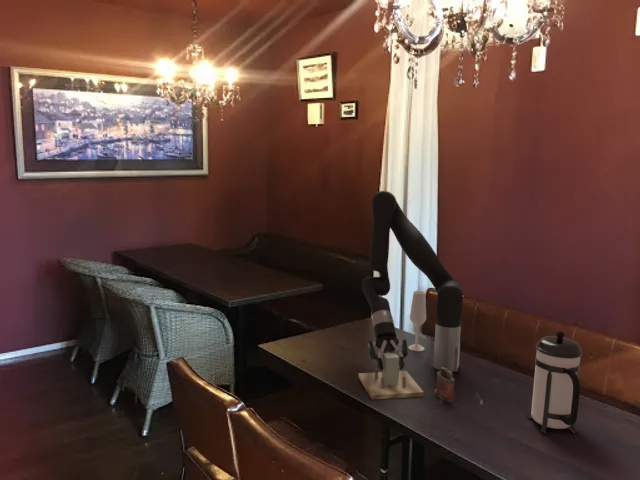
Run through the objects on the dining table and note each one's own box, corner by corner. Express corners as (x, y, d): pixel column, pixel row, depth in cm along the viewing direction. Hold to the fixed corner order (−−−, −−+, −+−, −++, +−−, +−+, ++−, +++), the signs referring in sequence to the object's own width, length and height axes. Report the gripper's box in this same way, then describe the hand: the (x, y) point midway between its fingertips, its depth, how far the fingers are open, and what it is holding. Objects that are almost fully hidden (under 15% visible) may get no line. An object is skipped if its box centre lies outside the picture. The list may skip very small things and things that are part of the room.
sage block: (381, 380, 198) (382, 353, 197) (394, 379, 199) (395, 352, 197) (385, 385, 194) (386, 357, 192) (397, 384, 195) (399, 357, 193)
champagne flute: (407, 350, 232) (410, 293, 228) (408, 344, 238) (411, 289, 234) (424, 351, 230) (427, 295, 226) (425, 346, 237) (428, 290, 233)
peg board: (405, 374, 207) (406, 361, 206) (423, 396, 190) (424, 382, 189) (358, 377, 204) (358, 364, 203) (371, 399, 187) (372, 385, 186)
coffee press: (515, 425, 172) (523, 331, 166) (538, 408, 183) (546, 320, 177) (572, 447, 159) (583, 347, 154) (593, 428, 171) (604, 334, 165)
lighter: (433, 392, 193) (435, 365, 191) (442, 391, 194) (443, 363, 192) (446, 402, 185) (448, 374, 184) (455, 401, 187) (457, 373, 185)
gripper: (366, 321, 199) (374, 366, 190) (405, 320, 202) (414, 364, 192) (362, 330, 205) (369, 374, 196) (400, 329, 208) (409, 372, 198)
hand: (392, 369), depth 194 cm, fingers open, 6 cm apart
